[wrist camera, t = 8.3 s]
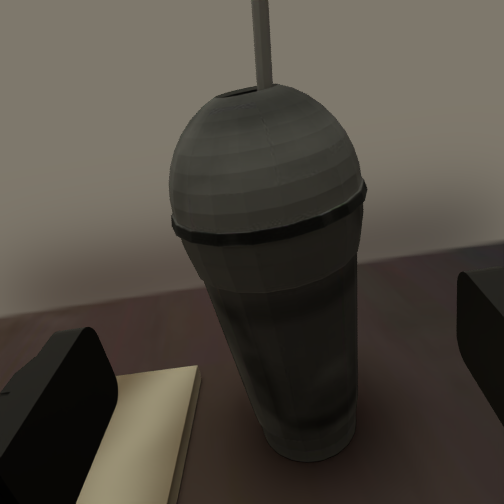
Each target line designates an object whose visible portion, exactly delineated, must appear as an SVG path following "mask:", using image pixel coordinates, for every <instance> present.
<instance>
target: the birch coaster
mask: <svg viewBox="0 0 504 504" xmlns="http://www.w3.org/2000/svg"><path fill="white" fill-rule="evenodd" d="M116 379H117V383H118V401H117V405H116V408H115V410H114V413H113V415H112V418H111V420H110V422H109V425H108V427H107V430H106V432H105V434H104V437H103V439H102V442H101V444H100V447H99V449H98V451H97V454H96V456H95V459H94V461H93V463H92V466H91V468H90V471H89V473H88V475H87V478H86V480H85V483H84V485H83V488H82V490H81V492H80V495H79V497H78V500H77V502H76V504H177V499H178V494H179V489H180V484H181V479H182V474H183V469H184V464H185V459H186V454H187V449H188V444H189V439H190V434H191V429H192V424H193V419H194V414H195V409H196V404H197V399H198V394H199V389H200V384H201V379H202V378H201V375H200V372H199V369H198V366H197V365H196V366H189V367H181V368H174V369H166V370H159V371H151V372H143V373H136V374H128V375H121V376H116Z"/></svg>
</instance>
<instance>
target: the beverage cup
mask: <svg viewBox="0 0 504 504" xmlns="http://www.w3.org/2000/svg"><path fill="white" fill-rule="evenodd" d="M251 1H252V17H253V31H254V47H255V62H256V77H257V86H254V87H249V88H244V89H239V90H235V91H231V92H228V93H224V94H221V95H218V96H216V97H214V98H213V99H212V100H210V101H209V102H208V103H207V104H205V105H204V106H203V107H202V108H201V109H200V110H199V111H198V113H196V115H195V116H194V117H193V118H192V119H191V120H190V122H189V123H188V125H187V126H186V128H185V130H184V131H183V133H182V134H181V136H180V139H179V141H178V143H177V146H176V148H175V150H174V154H173V159H172V162H171V166H170V176H169V193H170V202H171V207H172V212H173V214H172V215H171V219H172V227H173V229H174V231H175V234H176V236H178V237H180V238H181V240H182V243H183V245H184V248H185V250H186V252H187V254H188V256H189V258H190V260H191V261H192V263H193V265H194V267H195V269H196V271H197V273H198V275H199V277H200V278H201V279H202V280H203V281H204V283H205V286H206V288H207V291H208V293H209V296H210V299H211V301H212V304H213V306H214V309H215V311H216V314H217V317H218V319H219V322H220V324H221V327H222V330H223V332H224V335H225V337H226V340H227V343H228V345H229V348H230V350H231V353H232V355H233V358H234V361H235V363H236V366H237V368H238V371H239V374H240V376H241V379H242V381H243V384H244V387H245V389H246V392H247V394H248V397H249V399H250V402H251V405H252V407H253V410H254V412H255V415H256V417H257V419H258V421H259V423H260V424H261V426H262V428H263V431H264V434H265V436H266V439H267V441H268V443H269V445H270V446H271V447H272V448H273V449H274V450H275V451H276V452H277V453H278V454H280V455H282V456H284V457H286V458H288V459H290V460H294V461H301V462H314V461H321V460H325V459H327V458H329V457H331V456H334V455H336V454H338V453H339V452H340V451H341V450H342V449H343V448H345V447H346V446H347V445H348V444H349V442H350V440H351V439H352V437H353V435H354V433H355V427H356V415H355V413H356V405H357V398H358V359H357V251H358V247H359V242H360V235H361V227H362V218H363V202H364V201H365V197H366V193H367V187H366V184H365V182H364V179H363V178H362V177H361V173H360V166H359V161H358V158H357V155H356V152H355V149H354V147H353V145H352V143H351V141H350V139H349V137H348V135H347V133H346V131H345V130H344V129H343V127H342V126H341V125H340V123H339V122H338V121H337V119H336V118H335V117H334V116H333V115H332V114H331V113H330V112H329V111H328V110H327V109H326V108H325V107H324V106H323V105H321V104H320V103H319V102H317V101H316V100H315V99H313V98H311V97H310V96H309V95H307V94H305V93H303V92H301V91H299V90H296V89H294V88H292V87H288V86H283V85H280V84H273V81H272V62H271V44H270V26H269V8H268V0H251Z"/></svg>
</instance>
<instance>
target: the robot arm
mask: <svg viewBox="0 0 504 504" xmlns="http://www.w3.org/2000/svg"><path fill="white" fill-rule="evenodd" d="M457 341H458V346H459V350H460V353H461V356H462V358H463V360H464V362H465V364H466V366H467V367H468V369H469V371H470V372H471V374H472V376H473V377H474V379H475V381H476V382H477V384H478V385H479V387H480V389H481V390H482V392H483V394H484V395H485V397H486V398H487V400H488V402H489V403H490V405H491V407H492V408H493V410H494V412H495V413H496V415H497V416H498V418H499V420H500V421H501V423H502V425H503V426H504V268H503V267H500V266H498V267H491V268H484V269H478V270H471V271H464V272H461V273H460V274H459V276H458V280H457ZM117 401H118V383H117V379H116V376H115V374H114V372H113V369H112V367H111V365H110V362H109V360H108V358H107V356H106V353H105V351H104V349H103V346H102V344H101V342H100V340H99V337H98V335H97V333H96V332H95V330H94V329H92V328H91V327H84V328H77V329H71V330H64V331H58V332H55V333H54V334H53V335H52V336H51V337H50V339H49V340H48V341H47V343H46V344H45V345H44V347H43V348H42V350H41V351H40V352H39V354H38V355H37V356H36V357H34V358H33V359H32V360H31V361H30V362H28V363H27V364H26V365H25V366H24V367H22V368H21V369H20V370H19V371H18V372H16V373H15V374H14V375H13V377H12V378H11V379H10V381H9V382H8V383H7V385H6V386H5V387H4V389H3V390H2V391H1V393H0V504H76V502H77V500H78V497H79V495H80V492H81V490H82V488H83V485H84V483H85V480H86V478H87V475H88V473H89V471H90V468H91V466H92V463H93V461H94V459H95V456H96V454H97V451H98V449H99V447H100V444H101V442H102V439H103V437H104V434H105V432H106V430H107V427H108V425H109V422H110V420H111V418H112V415H113V413H114V410H115V408H116V405H117Z"/></svg>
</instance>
